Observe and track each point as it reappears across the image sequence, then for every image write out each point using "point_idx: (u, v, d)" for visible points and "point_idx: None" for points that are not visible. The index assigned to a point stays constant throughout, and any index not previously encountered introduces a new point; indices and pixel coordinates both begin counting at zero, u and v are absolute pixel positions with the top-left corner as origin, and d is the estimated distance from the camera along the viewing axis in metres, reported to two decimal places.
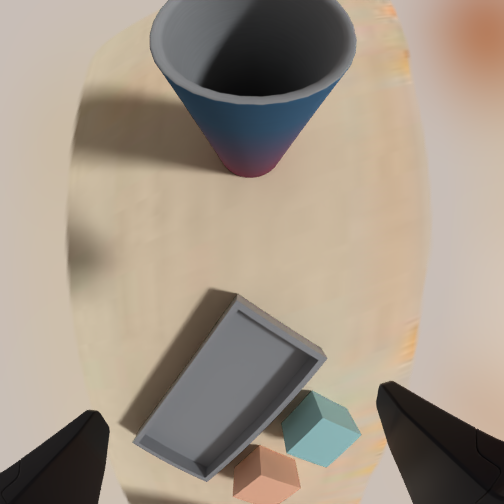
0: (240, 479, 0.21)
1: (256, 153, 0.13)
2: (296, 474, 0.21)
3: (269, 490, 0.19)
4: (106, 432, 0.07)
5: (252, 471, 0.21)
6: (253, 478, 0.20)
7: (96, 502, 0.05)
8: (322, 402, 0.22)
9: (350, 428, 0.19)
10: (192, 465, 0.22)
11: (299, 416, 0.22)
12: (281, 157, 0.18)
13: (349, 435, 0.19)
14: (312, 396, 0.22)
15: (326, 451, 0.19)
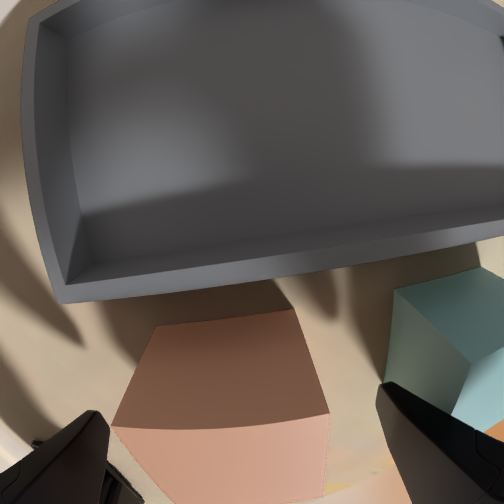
0: (176, 377, 0.06)
1: None
2: None
3: (254, 475, 0.05)
4: (107, 432, 0.07)
5: (259, 377, 0.06)
6: (268, 410, 0.05)
7: (97, 502, 0.05)
8: None
9: None
10: (68, 217, 0.07)
11: (467, 292, 0.07)
12: None
13: None
14: (492, 274, 0.08)
15: (479, 416, 0.05)
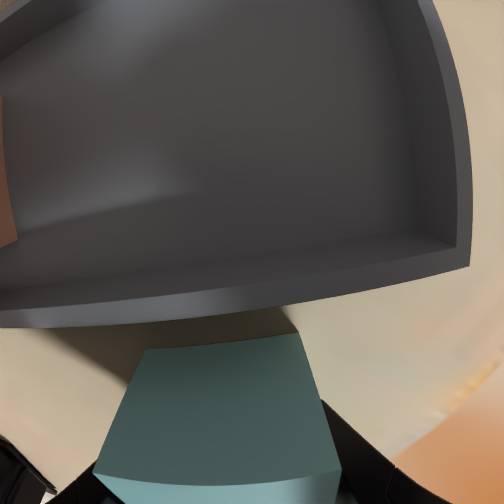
0: None
1: None
2: None
3: None
4: None
5: None
6: None
7: None
8: None
9: None
10: None
11: (216, 379, 0.06)
12: None
13: None
14: (299, 352, 0.07)
15: None
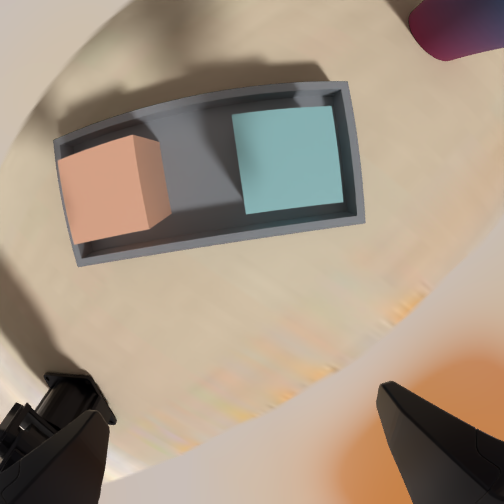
0: None
1: (491, 13, 0.06)
2: (159, 217, 0.15)
3: (107, 188, 0.12)
4: (106, 432, 0.07)
5: None
6: (114, 141, 0.12)
7: (96, 502, 0.05)
8: None
9: (338, 174, 0.13)
10: None
11: None
12: (466, 51, 0.11)
13: (331, 181, 0.12)
14: None
15: (279, 175, 0.12)
